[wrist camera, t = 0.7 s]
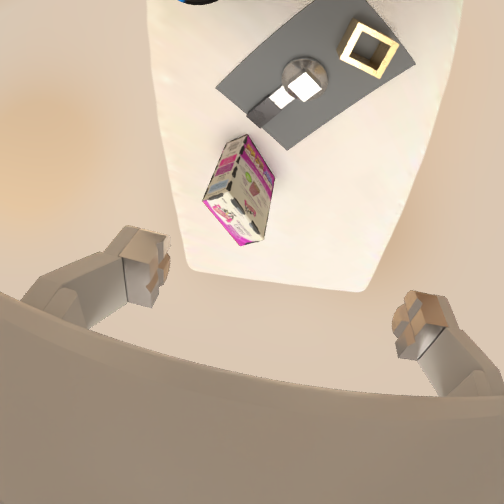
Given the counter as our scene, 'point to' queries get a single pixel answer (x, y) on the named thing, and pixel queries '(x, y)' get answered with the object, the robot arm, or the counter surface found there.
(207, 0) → the aerosol can
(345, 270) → the counter surface
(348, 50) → the brass square frame
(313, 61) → the ratchet
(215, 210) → the candy bar box
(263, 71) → the mat
